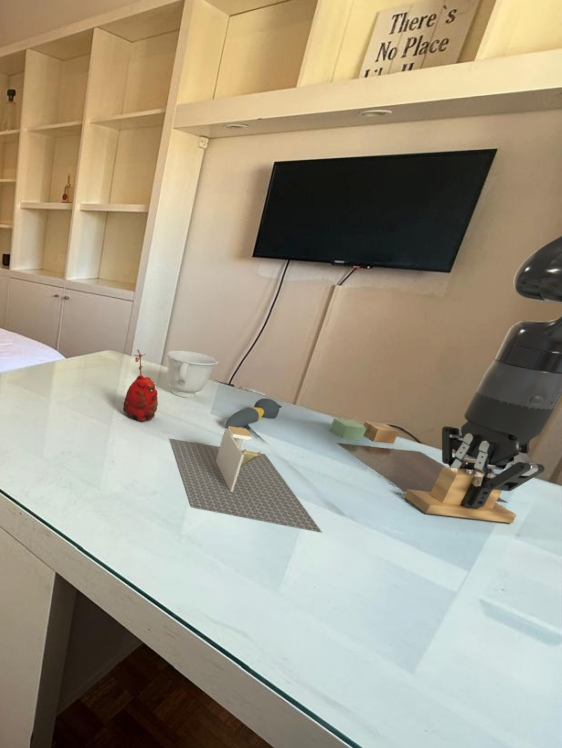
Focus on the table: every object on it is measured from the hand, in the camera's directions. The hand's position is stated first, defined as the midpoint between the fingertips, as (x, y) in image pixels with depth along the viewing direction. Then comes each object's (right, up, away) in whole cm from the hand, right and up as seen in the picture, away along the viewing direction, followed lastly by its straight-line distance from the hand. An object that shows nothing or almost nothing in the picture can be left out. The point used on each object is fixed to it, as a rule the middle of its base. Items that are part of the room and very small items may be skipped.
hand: (460, 500), depth 70 cm
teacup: (-21, +16, +47) cm, 54 cm away
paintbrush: (-12, +10, +32) cm, 36 cm away
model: (-30, +2, +8) cm, 32 cm away
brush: (0, -3, +1) cm, 3 cm away
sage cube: (+4, +8, +24) cm, 26 cm away
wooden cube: (+10, +7, +24) cm, 27 cm away
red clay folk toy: (-38, +11, +32) cm, 51 cm away
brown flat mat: (+5, +1, +14) cm, 15 cm away
